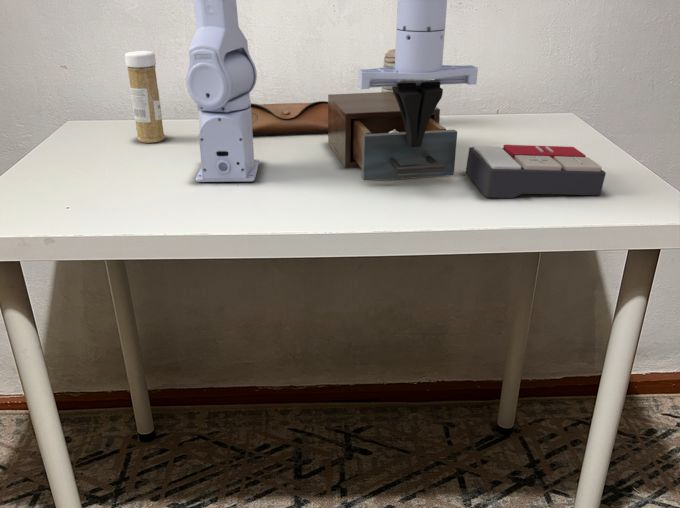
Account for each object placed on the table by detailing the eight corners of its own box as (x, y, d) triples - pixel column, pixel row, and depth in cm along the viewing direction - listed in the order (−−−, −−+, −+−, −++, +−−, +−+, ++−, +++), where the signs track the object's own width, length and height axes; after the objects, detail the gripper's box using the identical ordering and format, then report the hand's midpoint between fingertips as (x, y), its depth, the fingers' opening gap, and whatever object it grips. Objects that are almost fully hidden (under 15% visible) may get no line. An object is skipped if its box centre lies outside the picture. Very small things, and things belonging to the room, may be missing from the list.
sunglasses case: (234, 135, 115) (231, 94, 115) (234, 148, 122) (231, 109, 122) (342, 130, 118) (339, 91, 118) (336, 143, 125) (333, 105, 125)
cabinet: (436, 162, 103) (440, 109, 99) (345, 168, 101) (345, 113, 97) (410, 139, 114) (413, 90, 110) (328, 144, 112) (328, 94, 108)
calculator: (608, 166, 87) (490, 163, 86) (600, 200, 90) (485, 197, 88) (576, 144, 97) (469, 141, 96) (569, 175, 99) (464, 172, 98)
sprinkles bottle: (170, 140, 115) (160, 52, 108) (146, 145, 113) (134, 55, 106) (155, 135, 118) (144, 49, 111) (131, 140, 116) (118, 52, 109)
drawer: (466, 187, 90) (471, 141, 87) (372, 193, 88) (373, 146, 85) (426, 151, 105) (428, 111, 102) (344, 155, 103) (345, 115, 100)
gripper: (467, 23, 87) (457, 134, 94) (353, 27, 85) (351, 140, 92) (488, 30, 81) (476, 148, 88) (366, 34, 79) (363, 154, 86)
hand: (413, 145), depth 90 cm, fingers closed, pressing on drawer
